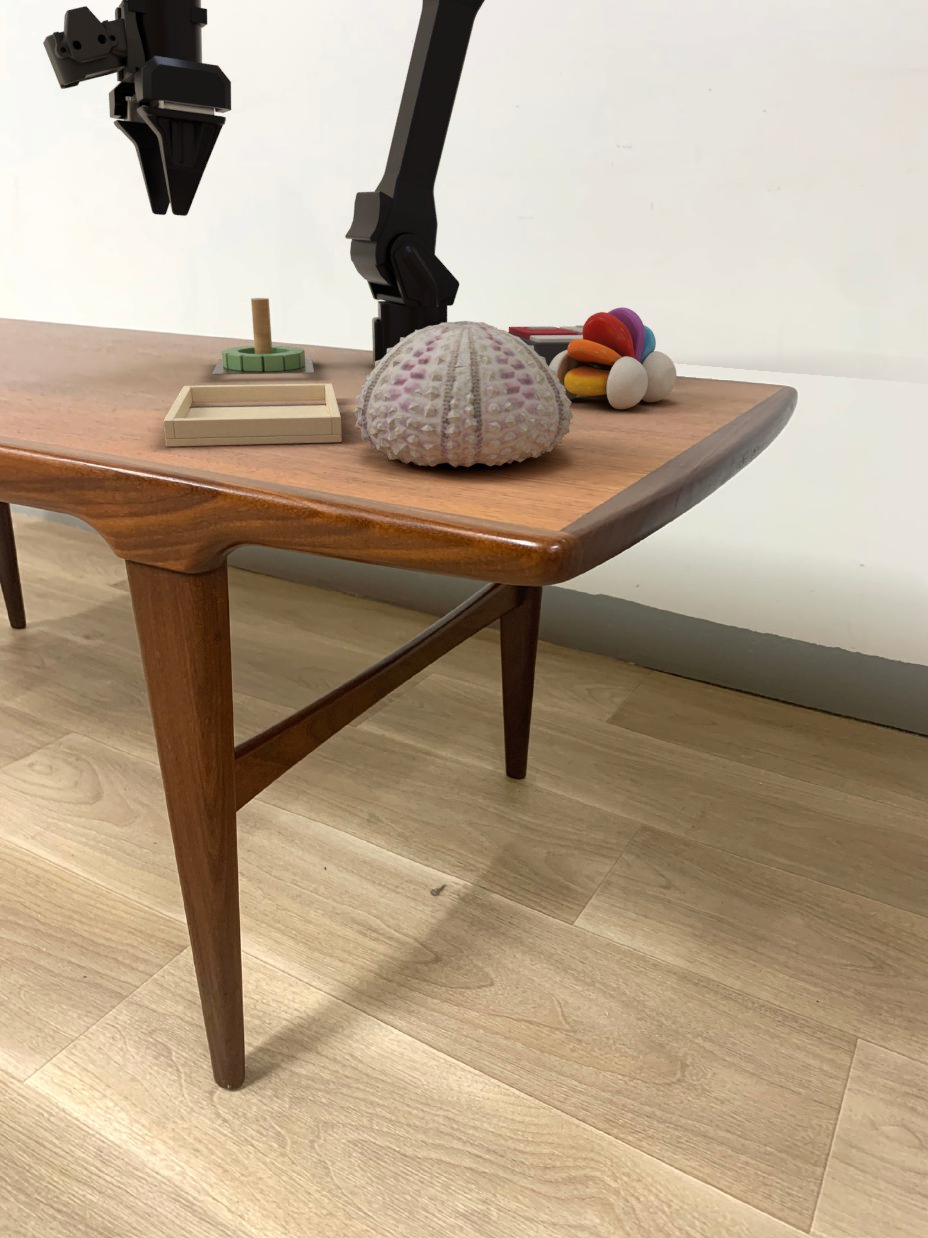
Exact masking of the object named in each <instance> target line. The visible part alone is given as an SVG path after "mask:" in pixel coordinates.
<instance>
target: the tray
mask: <svg viewBox="0 0 928 1238" xmlns="http://www.w3.org/2000/svg"><path fill="white" fill-rule="evenodd" d="M279 401H280V402H281V401H283V402H285V401H325V404H294V405H293V404H285V405H284V404H283V405H280V404H279V405H234V406H233V405H230V406H229V405H228V406H192V404H193V403H225V402H226V403H229V402H231V403H232V402H279ZM338 404H339V403H338V400H337V397H336V393H335V389H334V385H333V383H277V384H270V383H269V384H217V385H215V384H214V385H213V384H211V385H207V384H206V385H183V387H182V388H181V390H180V392H179V394H178V395H177V396H176V399H174V402H173V403H172V405H171V407H170V408H169V410H168V412H167V414H166V415H165V417H164V419H163V423H162V424H163V430H164V431H163V432H164V438H165V446H166V447H167V448H168V447H171V448H172V447H209V446H211V447H213V446H214V447H215V446H245V445H246V446H247V445H249V446H250V445H251V446H253V445H286V444H326V443H329V444H330V443H342V442H343V439H342V437H343V435H342V417H341V413H340V409H339V405H338Z"/></svg>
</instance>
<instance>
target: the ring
mask: <svg viewBox="0 0 928 1238" xmlns="http://www.w3.org/2000/svg"><path fill="white" fill-rule="evenodd" d="M221 358H222V359H221V360H223V366H224V367H225V368H226V369H230V370H237V371H248V372H262V371H265V372H273V371H283V370H293V369H298V368H302V367H303V366H305V359H306V351H305V349H303V348H301V347H297V346H289V345H284V346H283V345H274V344H272V354H255V347H254V345H246V346H235V347H234V346H233V347H228V348H226V349H223V350H222V351H221Z"/></svg>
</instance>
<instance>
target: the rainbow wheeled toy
mask: <svg viewBox="0 0 928 1238" xmlns="http://www.w3.org/2000/svg"><path fill="white" fill-rule="evenodd" d="M583 325H584V326H583V331H582V334H583V339H577V340H573V341H572V342H570V344H569V345H568V348H567V350H565V351H563V352H561V353H559V354H558V355H557V356H556V357H555V358H554V359H553V360H552V362H551V363H550V366H549V367H550V369H552V370H554V371H556V377H557V378H558V379H559V381H560V384H562V385H563V386H565V388H564V389H566V396H568V397H567V398H568V399H569V400H570V401H571V400H573V399H575V398H576V397H577V396H584V397H585V396H586V397H587V396H588V397H596V396H604V395H606V397H607V401H608V402H609V404H610V406H611V407H612V408H613V409H616V410H627V409H631V408H633V407H634V406H637V404H638V403H640V402H641V400H643V402H646V403H655V402H659V401H661V400H664V399H665V398H667V396H669V395H670V393H671V392H672V391H673V389H674V388H675V385H676V382H677V377H678V376H677V375H678V374H677V369H676V366H675V363H674V362H673V360H672V358H670V357H669V356H668V355H667V354H665V353H664V352H662V351H658V350H656V346H657V340H656V335H655V334H654V331H653V330H652V328H650V327H649V326H647V325H645V324H644V322H643V320H642V318H641V317H640V316H639V315H638V314H637V313H636V311H634V310H632V309H631V308H628V307H624V306H623V307H621V306H620V307H617V308H614V309H611V310H609V311H608V312H605V311H599V312H596V313H594V314H592V315H590V316H589V317H588V318H587V319H586V321H585V322H584V323H583ZM655 350H656V351H655Z"/></svg>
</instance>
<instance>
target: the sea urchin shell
mask: <svg viewBox="0 0 928 1238" xmlns="http://www.w3.org/2000/svg"><path fill="white" fill-rule="evenodd" d="M508 332H509V331H506V330H505V329H500V328H498V327H496V326H494V325H490V324H488V323H486V322H483V321H481V322H479V321H478V322H477V321H471V320H459V321H447V322H445V323H441V324H439V325H434V326H428V327H426V328H423V329H420V330H415V332H413V333H411V334H409V335H408V336H407V337H405V338H403V337H401V338H400V342H399V343H398V344H396V345H395V346H394V347H392V348H388V349H387V354H386V355H385V356H384V357H383V358H382V359H381V360H378V361H375V363H374V367H373V369H372V370H371V371H370V373H369V374H367V375H366V379H365V382H364V384H362V385H361V388H362V389H361V391H360V393H359V394H358V395H357V396H356V397H355V400H356V403H357V405H356V407H355V408H354V409H353V410H352V413H353V415H354V416H355V418H356V422H355V426H354V428H355V429H357V430H358V431H359V432H360V434H361V440H362V441H363V442H365V443H367V444H368V446H369V450H370V451H375V452H378V453H379V455H380V457H387V459H388V460H390V461H393V460H394V461H395V460H399V461H400V462H401V463H404V464H410V463H412V464H414V465H418V467H419V466H424V467H427V466H430V467H435V466H437V465H440V464H449V465H450V466H452V467H453V468H457V467H459V466H462V467H467V468H469V467H471V466H473V465H475V464H483V465H486V466H488V467H492V466H494V465H495V466H500V467H501V466H503V464H505V463H507V464H509V465H511V464H512V463H513V462H514V461H515V462H518V463H522V462H524V461H525V460H526V459H530V458H535V459H537V458H538V457H542V455H544V454H545V453H551V452H552V451H553V449H554V448H557V445H562V444H563V438H564V437H565V436H566V435H568V434H569V433H570V432H571V431H570V424H571V421H572V419H573V418H574V416H573V413H572V411H571V405H572V401H571V400H569V399H568V398H567V397H568V396H566V389H564V388H565V386H563V385H562V384H560V381H559V379H558V378H557V377H556V371H554V370H552V369H550V367H549V366H548V365H547V363H546V360H545V358H544V357H541V356H539V355H538V354H537V353H536V351H535V350H534V346H530V345H527V344H526V343H525V342H524V341H522V340H521V339H520V337H517V336H514V335H512V334H510V333H508Z"/></svg>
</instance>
